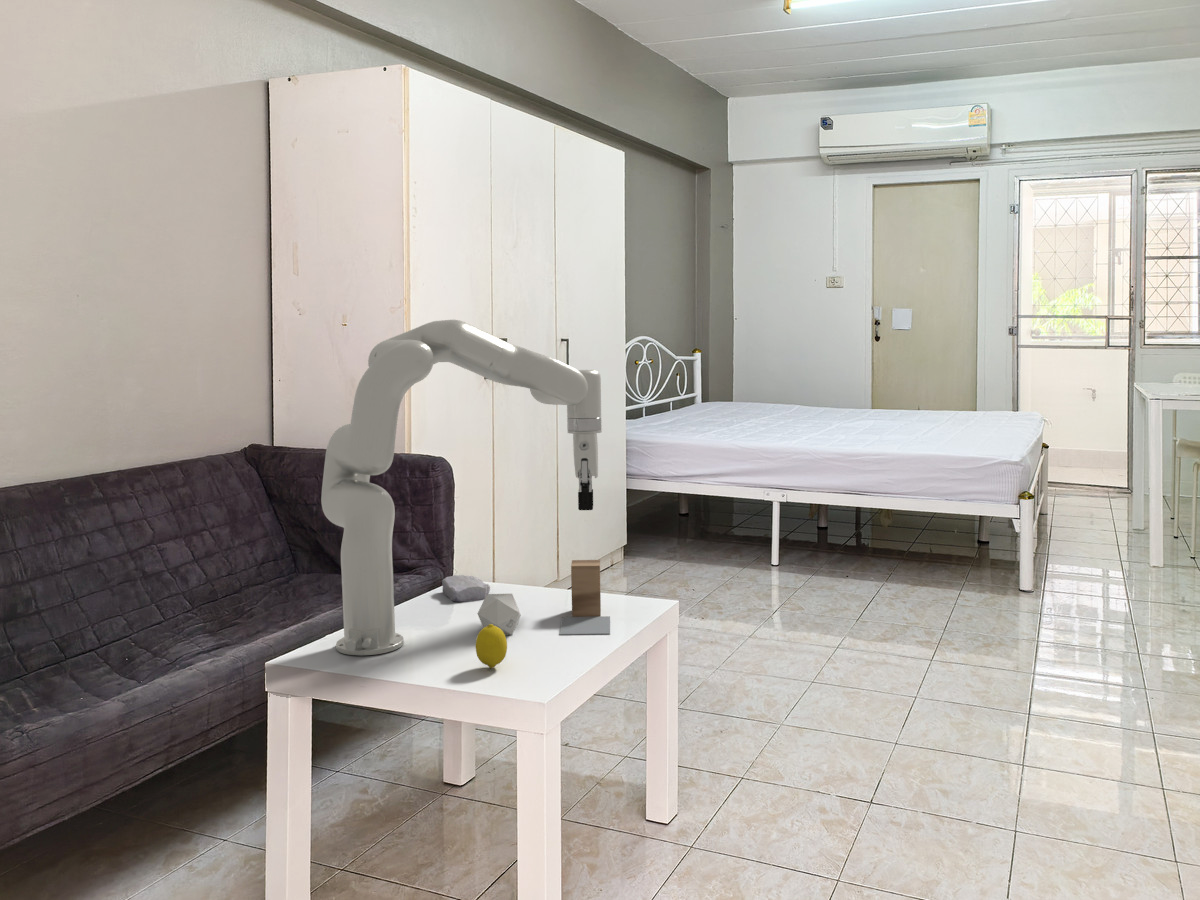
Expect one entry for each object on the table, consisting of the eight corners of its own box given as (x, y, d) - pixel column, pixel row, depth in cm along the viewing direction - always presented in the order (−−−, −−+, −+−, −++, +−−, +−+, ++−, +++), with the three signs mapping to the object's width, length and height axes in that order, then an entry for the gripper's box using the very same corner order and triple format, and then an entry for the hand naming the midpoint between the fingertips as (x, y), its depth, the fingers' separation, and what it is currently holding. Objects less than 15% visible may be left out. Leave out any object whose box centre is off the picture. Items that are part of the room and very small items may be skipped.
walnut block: (600, 617, 205) (599, 565, 204) (572, 617, 205) (571, 566, 204) (600, 609, 211) (599, 559, 210) (573, 609, 211) (572, 559, 210)
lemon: (508, 663, 175) (507, 619, 174) (506, 673, 169) (505, 628, 169) (477, 663, 175) (476, 620, 174) (474, 673, 169) (473, 628, 169)
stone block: (478, 595, 233) (437, 592, 229) (481, 576, 233) (441, 572, 228) (493, 608, 222) (452, 605, 218) (497, 588, 222) (455, 584, 218)
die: (503, 645, 188) (529, 602, 190) (465, 622, 189) (491, 579, 191) (506, 648, 196) (531, 606, 198) (470, 626, 197) (495, 585, 199)
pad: (610, 634, 192) (610, 633, 192) (559, 635, 192) (559, 634, 192) (610, 617, 204) (610, 616, 204) (562, 617, 204) (562, 616, 204)
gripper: (601, 428, 206) (602, 514, 208) (601, 423, 222) (603, 502, 224) (565, 429, 206) (567, 514, 208) (568, 423, 222) (570, 503, 224)
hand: (585, 507), depth 216 cm, fingers open, 3 cm apart
